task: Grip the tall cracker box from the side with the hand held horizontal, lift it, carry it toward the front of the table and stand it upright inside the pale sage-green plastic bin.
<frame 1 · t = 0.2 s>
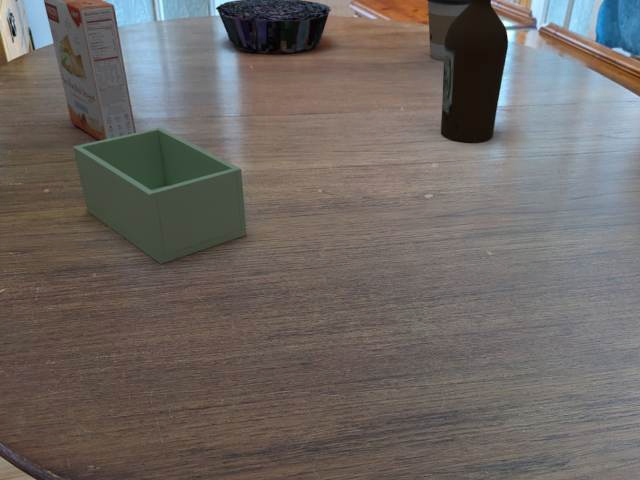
cracker box: (103, 133, 124), on the table
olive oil: (466, 135, 131), on the table
coffee cup: (445, 58, 175), on the table
decorative bowl: (275, 45, 179), on the table
bin: (165, 222, 97), on the table
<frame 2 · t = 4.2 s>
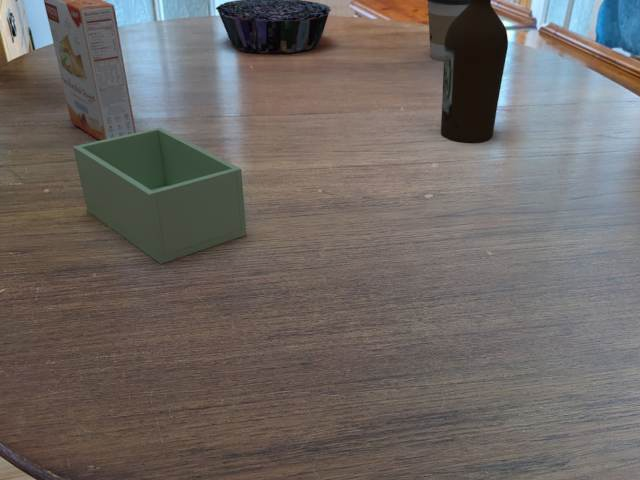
nothing on the table moved.
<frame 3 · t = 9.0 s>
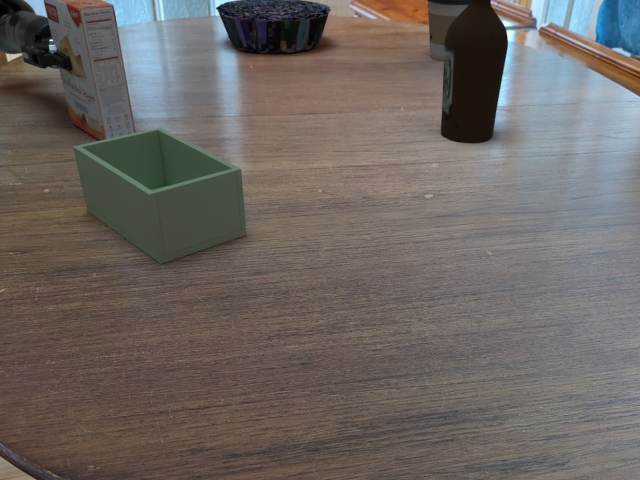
hand: (88, 61, 117), 11 cm above the table, tool horizontal, fingers closed on cracker box, 6 cm apart
cracker box: (103, 133, 124), on the table, touching gripper
everything else where it was.
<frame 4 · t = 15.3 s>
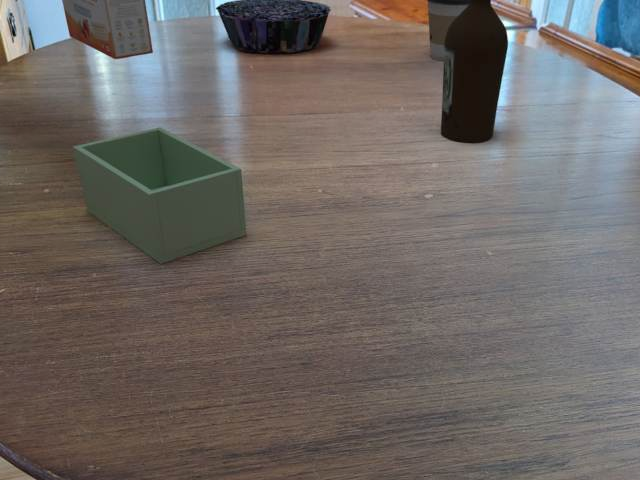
cracker box: (110, 48, 99), point 18 cm above the table, touching gripper
everything else where it was.
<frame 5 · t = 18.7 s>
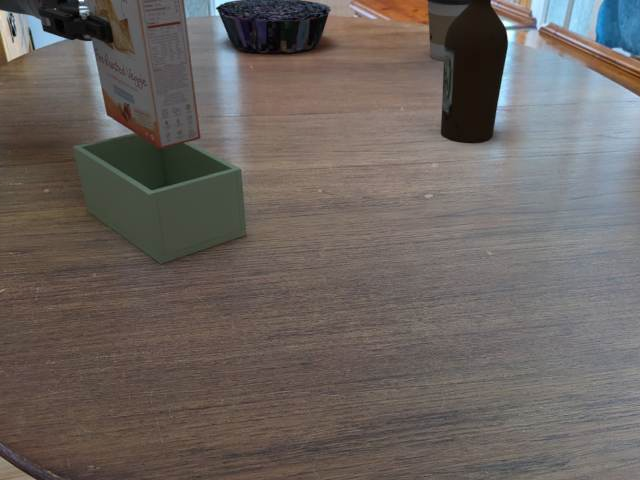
hand: (135, 29, 83), 24 cm above the table, tool horizontal, fingers closed on cracker box, 6 cm apart
cracker box: (152, 130, 90), point 12 cm above the table, touching gripper
everything else where it was.
when the fingers open (12 cm above the table, at t = 21.7 s): cracker box stays where it is, resting on bin.
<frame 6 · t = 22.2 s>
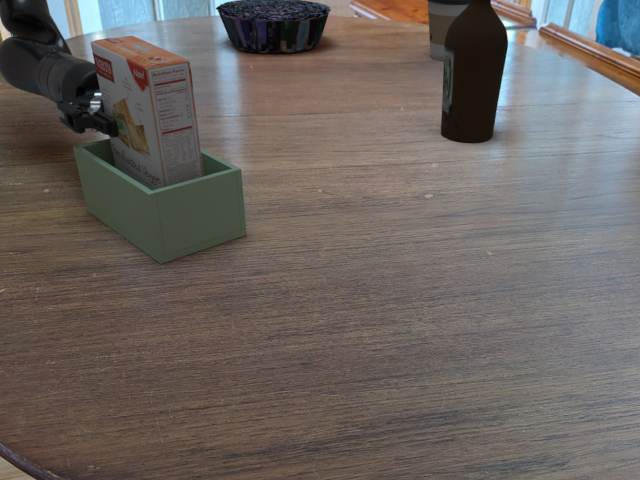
hand: (147, 122, 89), 13 cm above the table, tool horizontal, fingers open, 8 cm apart
cracker box: (164, 216, 97), point 1 cm above the table, touching bin
everything else where it was.
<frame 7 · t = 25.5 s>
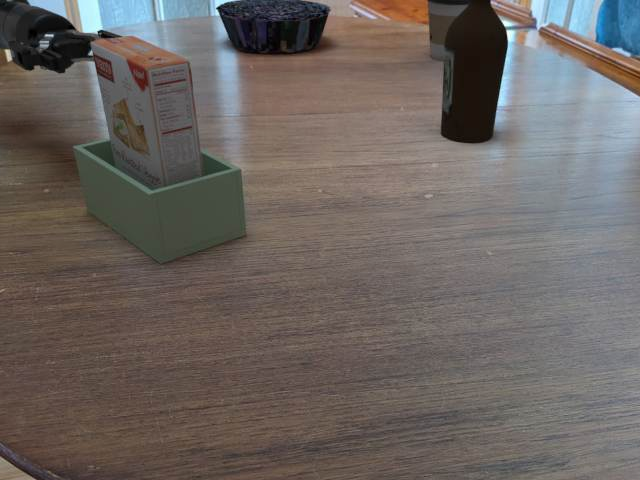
hand: (93, 60, 95), 18 cm above the table, tool horizontal, fingers open, 8 cm apart
nothing on the table moved.
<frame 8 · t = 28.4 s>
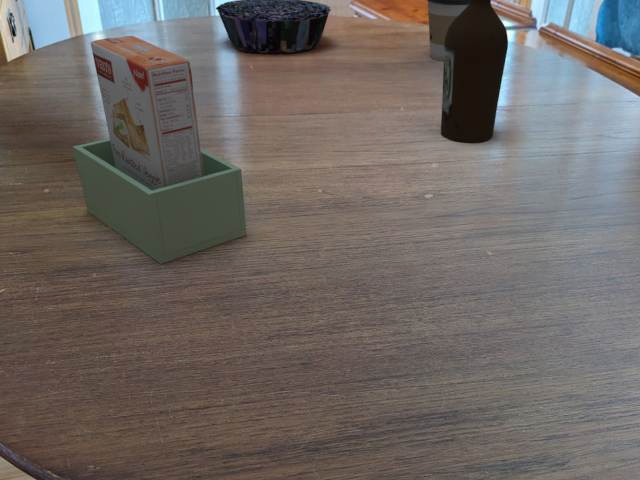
nothing on the table moved.
at the end: cracker box inside the target area in the bin (0.1 cm from its centre), point 0.8 cm above the bin's base; cracker box tilted 0°; the gripper is holding nothing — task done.
